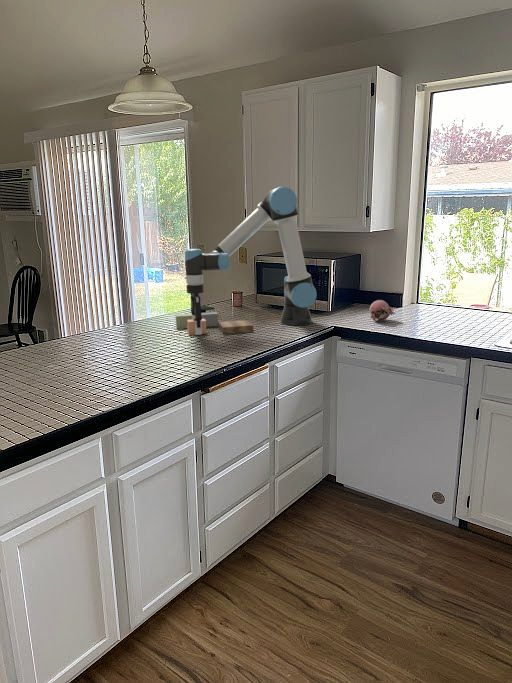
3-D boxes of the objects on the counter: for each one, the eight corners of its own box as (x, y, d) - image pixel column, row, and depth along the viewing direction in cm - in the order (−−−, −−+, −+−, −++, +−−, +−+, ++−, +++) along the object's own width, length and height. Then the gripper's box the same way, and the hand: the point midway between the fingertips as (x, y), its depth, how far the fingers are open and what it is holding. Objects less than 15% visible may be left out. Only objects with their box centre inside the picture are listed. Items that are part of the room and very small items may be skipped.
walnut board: (247, 326, 251) (247, 320, 250) (253, 331, 240) (252, 325, 239) (218, 328, 248) (218, 322, 247) (223, 333, 237) (222, 327, 236)
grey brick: (216, 323, 258) (216, 311, 256) (218, 325, 253) (218, 313, 252) (200, 324, 256) (200, 312, 255) (202, 327, 251) (201, 314, 250)
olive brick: (192, 325, 255) (191, 313, 254) (193, 327, 251) (193, 315, 249) (176, 326, 253) (175, 314, 252) (177, 328, 249) (176, 316, 247)
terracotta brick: (204, 331, 243) (204, 318, 242) (206, 333, 238) (206, 320, 237) (187, 332, 241) (187, 319, 240) (189, 334, 236) (188, 322, 235)
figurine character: (191, 321, 271) (204, 323, 258) (190, 306, 270) (203, 307, 257) (203, 319, 275) (216, 321, 262) (202, 305, 274) (215, 306, 261)
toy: (398, 322, 247) (396, 314, 261) (392, 301, 244) (390, 294, 258) (373, 329, 250) (372, 321, 264) (367, 308, 248) (366, 301, 262)
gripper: (183, 281, 244) (185, 326, 250) (189, 288, 222) (192, 338, 228) (199, 280, 246) (201, 325, 251) (207, 287, 224) (209, 336, 229)
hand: (197, 331), depth 240 cm, fingers open, 11 cm apart
